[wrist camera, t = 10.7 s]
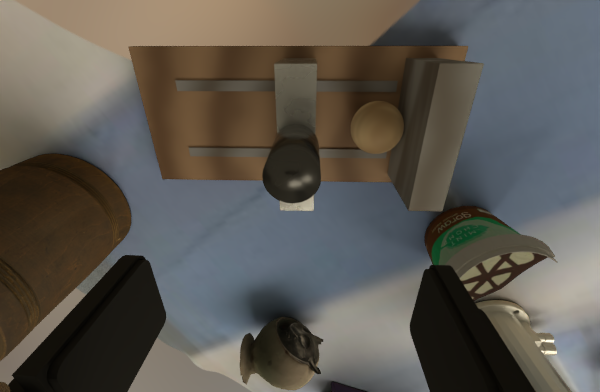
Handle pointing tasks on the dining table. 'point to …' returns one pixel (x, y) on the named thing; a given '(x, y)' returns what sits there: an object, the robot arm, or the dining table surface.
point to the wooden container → (52, 236)
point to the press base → (329, 111)
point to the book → (343, 388)
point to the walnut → (377, 127)
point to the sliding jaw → (294, 136)
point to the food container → (481, 249)
